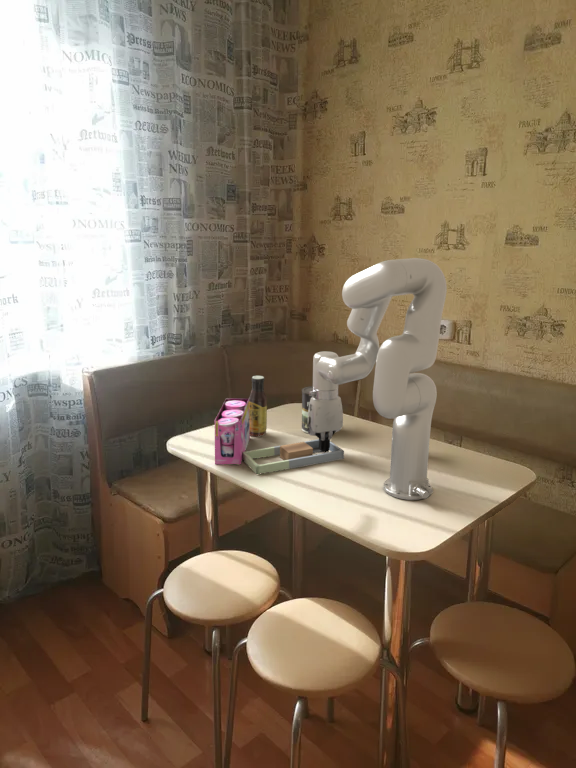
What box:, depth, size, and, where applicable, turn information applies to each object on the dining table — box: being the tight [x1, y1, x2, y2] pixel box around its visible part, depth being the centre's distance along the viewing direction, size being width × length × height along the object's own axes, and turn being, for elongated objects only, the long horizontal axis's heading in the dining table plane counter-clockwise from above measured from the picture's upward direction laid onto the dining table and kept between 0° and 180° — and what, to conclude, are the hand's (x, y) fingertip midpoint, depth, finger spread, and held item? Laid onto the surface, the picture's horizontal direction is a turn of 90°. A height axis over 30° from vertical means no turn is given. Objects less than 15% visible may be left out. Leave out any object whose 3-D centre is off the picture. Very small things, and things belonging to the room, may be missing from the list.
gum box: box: [214, 397, 251, 465], centre depth 178 cm, size 24×8×14 cm, turn 177°
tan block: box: [279, 441, 314, 461], centre depth 174 cm, size 6×8×4 cm
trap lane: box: [242, 438, 345, 475], centre depth 173 cm, size 12×28×2 cm, turn 114°
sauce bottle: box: [248, 375, 268, 438], centre depth 191 cm, size 7×6×20 cm
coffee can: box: [301, 385, 325, 434], centre depth 197 cm, size 10×10×14 cm
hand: (324, 450), depth 178 cm, fingers closed
